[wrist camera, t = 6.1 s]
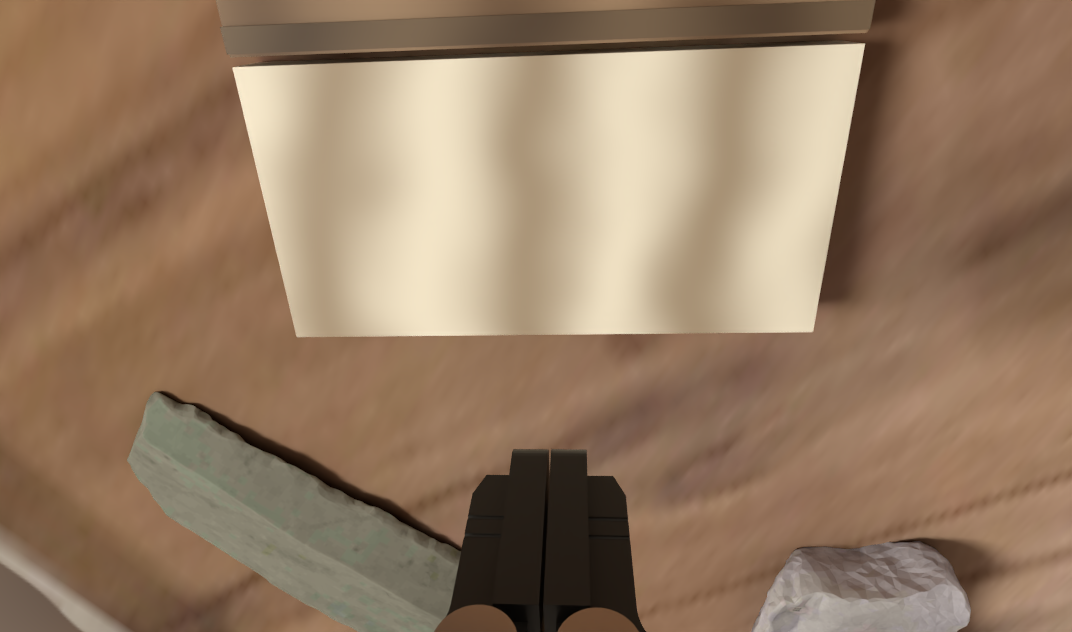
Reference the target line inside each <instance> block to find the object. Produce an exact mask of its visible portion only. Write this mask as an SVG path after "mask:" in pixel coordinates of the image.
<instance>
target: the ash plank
mask: <svg viewBox="0 0 1072 632" xmlns="http://www.w3.org/2000/svg"><path fill="white" fill-rule="evenodd" d="M864 47H865V43H858V42H850V41H843V40H829V41H803V42H777V43H750V44H724V45H698V46H671V47H645V48H619V49H592V50H566V51H540V52H513V53H487V54H461V55H435V56H408V57H382V58H356V59H329V60H303V61H277V62H258V63H253V64H247V65H242V66H237V67H233V71H234V76H235V80H236V84H237V88H238V92H239V97H240V101H241V105H242V109H243V113H244V118H245V122H246V126H247V130H248V134H249V139H250V143H251V147H252V151H253V155H254V160H255V164H256V168H257V172H258V176H259V181H260V185H261V189H262V193H263V197H264V202H265V206H266V210H267V214H268V218H269V223H270V227H271V231H272V235H273V239H274V244H275V248H276V252H277V256H278V260H279V265H280V269H281V273H282V277H283V281H284V286H285V290H286V294H287V298H288V302H289V307H290V311H291V315H292V319H293V323H294V328H295V332H296V336H297V337H353V336H456V335H560V334H663V333H767V332H813V329H814V323H815V318H816V312H817V307H818V301H819V295H820V290H821V284H822V279H823V273H824V268H825V262H826V257H827V251H828V246H829V240H830V235H831V229H832V224H833V218H834V213H835V207H836V202H837V196H838V191H839V185H840V180H841V174H842V169H843V163H844V158H845V152H846V146H847V141H848V135H849V130H850V124H851V119H852V113H853V108H854V102H855V97H856V91H857V86H858V80H859V75H860V69H861V64H862V58H863V53H864Z"/></svg>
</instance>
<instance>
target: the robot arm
mask: <svg viewBox="0 0 1072 632" xmlns="http://www.w3.org/2000/svg"><path fill="white" fill-rule="evenodd" d="M434 632H646V631H645V630H644V628H643V626H642V624H641V622H640V620H639V617H638V613H637V607H636V597H635V586H634V576H633V566H632V556H631V545H630V535H629V525H628V515H627V505H626V495H625V494H624V492H623V491H622V489H621V488H620V486H619V484H618V483H617V481H616V480H615V478H614V477H613V476H587V450H563V449H551V462H550V470H549V450H544V449H513V452H512V458H511V466H510V473H509V475H486V477H485V478H484V479H483V481H482V482H481V483H480V485H479V486H478V487H477V489H476V490H475V491H474V493H473V494H472V499H471V504H470V509H469V514H468V520H467V525H466V530H465V538H464V540H463V545H462V550H461V555H460V560H459V565H458V570H457V575H456V580H455V585H454V590H453V595H452V600H451V605H450V608H449V611H448V613H447V616H446V617H445V618H444V619H443V620H442V621H441V622H440V624H439V625H438V626H437V628H436V629H435V631H434Z"/></svg>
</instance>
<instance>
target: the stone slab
mask: <svg viewBox="0 0 1072 632" xmlns="http://www.w3.org/2000/svg"><path fill="white" fill-rule="evenodd" d="M199 410H200V409H198V408H196V407H195V406H194V405H189V404H185V405H184V404H180V403H177V402H176V401H174V400H172V399H170V398H168V397H166V396H165V395H163V394H161V393H158V392H154V393H153V394H152V395H151V396H150V398H149V400H148V402H147V404H146V409H145V412H144V416H143V421H142V424H141V426H140V428H139V430H138V433H137V435H136V438H135V441H134V444H133V447H132V449H131V452H130V455H129V457H128V459H127V461H128V462H129V464H130V465H131V468H132V470H133V472H134V473H135V475H136V476H137V478H138V480H139V481H140V482H141V483H142V484H143V485H145V486H146V487H147V488H148V489H149V491H150V493H151V495H152V497H153V499H154V500H155V501H156V502H157V503H158V504H159V505H160V506H161V508H162V509H163V511H164V512H165V514H166V515H167V516H169V517H170V518H172V519H173V520H175V521H176V522H178V523H179V524H181V525H182V526H184V527H186V528H188V529H189V530H191V531H193V532H194V533H196V534H197V535H199V536H200V537H202V538H204V539H205V540H207V541H208V542H210V543H212V544H213V545H215V546H216V547H218V548H219V549H221V550H222V551H224V552H225V553H227V554H228V555H230V556H231V557H233V558H234V559H236V560H238V561H239V562H241V563H243V564H244V565H246V566H248V567H249V568H251V569H252V570H254V571H256V572H257V573H259V574H260V575H261V576H263V577H264V578H266V579H267V580H268V581H269V582H270V583H271V584H273V585H274V586H276V587H278V588H279V589H281V590H283V591H284V592H286V593H288V594H289V595H291V596H293V597H295V598H297V599H298V600H300V601H301V602H303V603H305V604H307V605H309V606H311V607H313V608H315V609H317V610H319V611H321V612H322V613H324V614H326V615H327V616H328V617H330V618H331V619H333V620H335V621H337V622H339V623H341V624H344V625H347V626H349V627H351V628H353V629H355V630H356V631H358V632H434V631H435V629H436V628H437V626H438V625H439V624H440V622H441V621H442V620H443V619H444V618H445V617H446V616H447V613H448V611H449V608H450V605H451V600H452V595H453V590H454V585H455V580H456V575H457V570H458V565H459V560H460V555H461V551H459V550H457V549H455V548H454V547H452V546H450V545H448V544H445V543H440V542H438V541H437V540H435V539H433V538H431V537H429V536H427V535H425V534H424V533H422V532H420V531H418V530H416V529H414V528H412V527H410V526H408V525H406V524H404V523H402V522H399V521H398V520H397V519H396V518H395V517H394V516H392V515H391V514H389V513H387V512H385V511H383V510H381V509H380V508H378V507H374V506H369V505H367V504H365V503H364V502H362V501H359V500H356V499H353V498H351V497H349V496H348V495H346V494H345V493H343V492H342V491H340V490H337V489H335V488H332V487H329V486H328V485H326V484H325V483H324V482H322V481H321V480H320V479H318V478H317V477H316V476H313V475H310V474H308V473H306V472H304V471H302V470H301V469H299V468H297V467H296V466H293V465H291V464H289V463H286V462H285V461H284V460H282V459H281V458H279V457H277V456H275V455H273V454H270V453H267V452H264V451H262V450H260V449H258V448H256V447H253V446H251V445H249V444H247V443H246V442H245V441H244V440H243V439H242V437H241V436H240V435H239V434H237V433H233V432H231V431H229V430H228V429H227V428H225V427H224V426H222V425H220V424H218V423H217V422H215V421H213V420H212V419H210V416H209V415H208V414H207V413H205V412H202V411H201V410H200V411H201V412H200V411H199Z"/></svg>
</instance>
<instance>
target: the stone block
mask: <svg viewBox="0 0 1072 632" xmlns="http://www.w3.org/2000/svg"><path fill="white" fill-rule="evenodd" d="M970 612H971V608H970V604H969V601H968V597H967V593H966V592H965V591H964V589H963V588H962V586H961V585H960V583H959V580H958V579H957V577H956V575H955V573H954V569H953V567H952V565H951V564H950V562H949V561H948V560H947V559H946V558H945V557H944V556H942V555H941V554H940V553H939V552H938V551H937V550H936V549H935V548H933V547H931V546H929V545H926V544H924V543H922V542H921V541H914V542H910V543H904V542H900V543H893V542H887V543H883V544H878V545H870V546H865V547H861V548H859V549H840V548H831V547H804V548H800V549H796V550H795V551H794V552H793V553H792V554H791V556H790V557H789V558H788V560H787V561H786V564H785V566H784V568H783V569H782V570H781V571H780V572H779V574H778V575H777V576H776V578H775V581H774V584H773V585H772V587H771V588H770V589H769V591H768V592H767V599H766V601H765V603H764V605H763V606H762V607H761V609H760V612H759V616H758V617H757V619H756V622H755V623H754V625H753V628H752V632H957V631H958V630H959V629H962V628H963V627H965V626H967V624H968V623H969V620H970Z"/></svg>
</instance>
